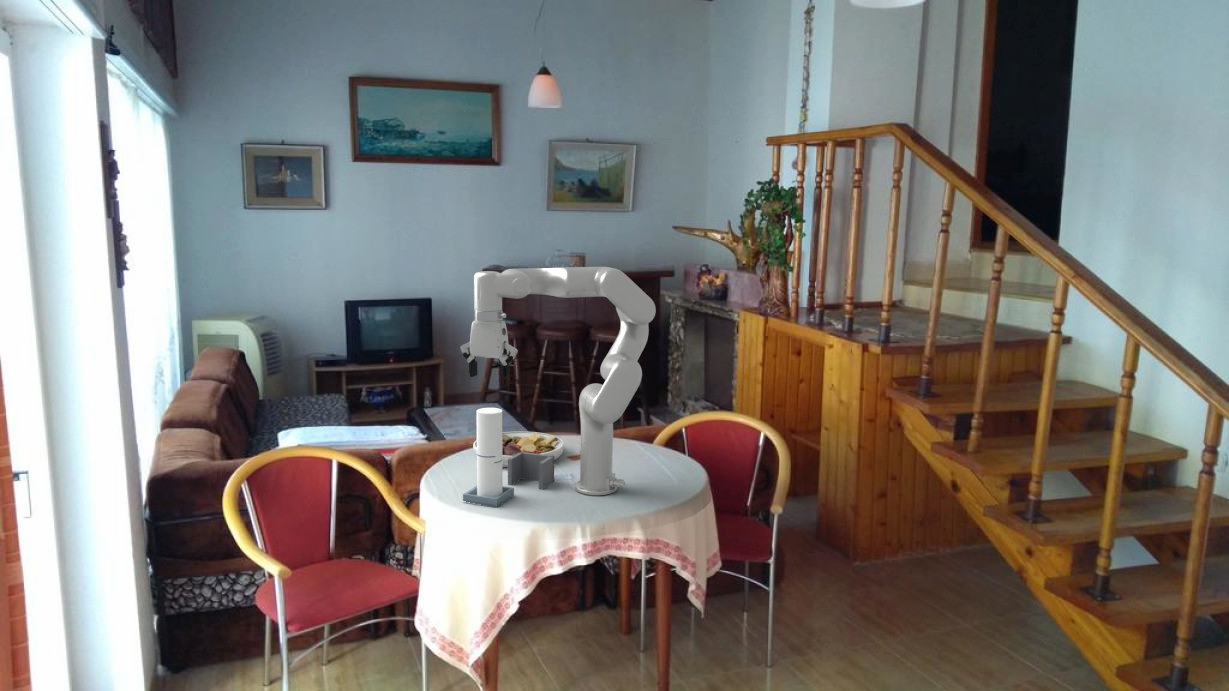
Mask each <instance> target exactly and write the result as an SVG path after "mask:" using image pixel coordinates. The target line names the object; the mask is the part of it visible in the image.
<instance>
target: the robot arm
mask: <svg viewBox="0 0 1229 691" xmlns="http://www.w3.org/2000/svg"><path fill="white" fill-rule="evenodd" d="M528 295H545V296H551V297H552V296H553V297H556V298H565V299H566V298H567V299H569V298H587V297H588V298H592V297H593V298H594V297H604V298H607V299H608V300H609V302H611V303H612V304H613V305H614V306H615V310H616V313H617V315H618V317H619V321H620V329H619V332H618V334H617V336H616V339H615V341H614V342H613V344H612V346H611V347H610V349H609V351H608V353H607V354H606V356H605V357H604V359H603V360H602V362H601V365H600V371H599V372H600V376H601V377H602V379H603V380H604V383H603V384H601V383H597V382H596V383H591V384H588V385H587V386H585V387H584V388H583V389H582V390H581V392H580V395H579V400H578V407H579V418H580V419H579V420H580V452H579V453H580V458H579V459H580V463H579V464H580V465H579V471H580V472H579V473H580V474H579V476H580V477H579V481H577V482H575V484H574V489H575V491H576V492H578V493H579V494H583V495H587V496H605V495H606V496H607V495H610V494H612V493H615V492H616V491H617V490H618V488H621V489H624V488H626V487H625V486H626V482H625V479H624V478H617V477H616V473H614V472H613V453H614V452H613V451H614V450H613V448H614V447H613V446H614V445H613V443H614V423H615V422H617V421H618V420H619V419H620V418H621V416H622V415H623V414H624V413H625V410H626V409H627V407H628V406H629V405H630V402H631V400H632V399H633V397H634V396H635V393H636V392H637V390H638V388H639V387H640V385H641V382H642V379H643V378H642V377H643V371H642V367H641V365H640V363H639V362H638V360H639V358H640V356H641V354H642V352H643V351H644V349H645V347H646V345H647V342H648V339H649V338H648V337H649V331H650V329H649V323H651V322H652V321H653V319H654V318H655V316H656V311H657V310H656V304H655V302H654V300H653V299H652V298H651V297H650V296H649V295H647V294H646V292H645V291H643V289H642V288H640V287H639V286H638V285H637V284H636V283H635V282H634V281H633V280H632V279H631V278H630V277H629V276H627V274H625V273H624V271H622V270H620V269H617V268H615V267H614V268H613V267H609V266H578V267H577V266H576V267H575V266H574V267H572V266H571V267H570V266H568V267H567V266H566V267H565V266H564V267H563V266H562V267H548V268H546V267H544V268H543V267H541V268H538V267H537V268H533V267H532V268H531V267H530V268H508V269H505V270H503V271H502V272H498V271H494V270H487V271H486V270H485V271H483V270H482V271H476V273H475V274H474V275H473V301H474V302H473V303H474V304H473V305H474V307H473V308H474V312H473V313H474V320H473V321H471V322H472V323H471V328H470V335H469V337H470V338H469V341H468V342H466V343H464V344H462V345H460V347H459V348H460V351H461V353H462V356H463V357H464V358H465V360H466V362H467V363H468V374H469V377H470V378H473V377H476V376H478V361H477V359H478V358H487V359H498V360H499V362H500V363H501V365H500V380H501V381H503V380H504V381H505V380H507V379H508V378H509V376H510V364H512V362H513V361H514V360H515V358H516V356H517V354H518V349H517V348H516V347H514V346H512V345H511V344H509V334H508V328H507V324H506V321H505V320H504V319H506V318H507V313H505V312H504V311H503V298H508V299H516V300H517V299H522V298H525V297H527V296H528ZM468 348H469V350H468ZM469 351H470V352H469Z"/></svg>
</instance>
